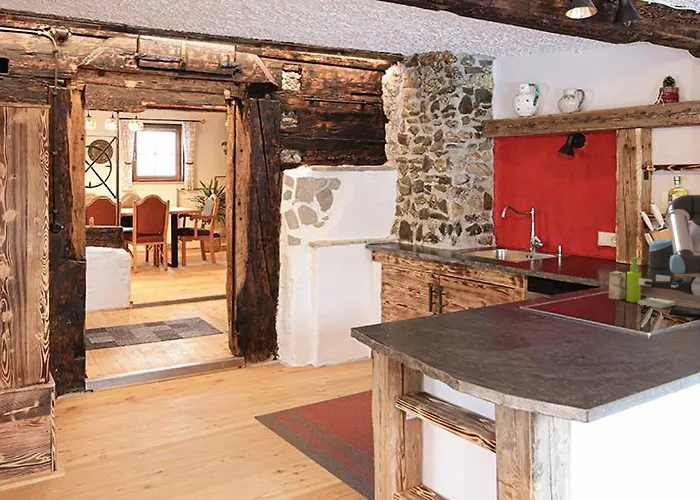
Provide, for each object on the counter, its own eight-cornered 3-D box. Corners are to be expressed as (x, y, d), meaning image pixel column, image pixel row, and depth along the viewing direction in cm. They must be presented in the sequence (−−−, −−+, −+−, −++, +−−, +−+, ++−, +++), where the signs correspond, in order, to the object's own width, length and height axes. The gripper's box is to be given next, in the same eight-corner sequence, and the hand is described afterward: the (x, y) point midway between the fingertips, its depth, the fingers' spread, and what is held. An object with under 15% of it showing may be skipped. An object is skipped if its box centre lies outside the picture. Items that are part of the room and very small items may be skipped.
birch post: (615, 296, 313) (615, 270, 311) (625, 298, 308) (626, 272, 307) (608, 297, 310) (609, 271, 308) (618, 299, 305) (619, 273, 304)
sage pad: (651, 301, 301) (651, 297, 301) (675, 305, 292) (675, 301, 292) (637, 304, 295) (637, 300, 294) (661, 308, 286) (661, 304, 285)
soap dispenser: (644, 302, 298) (645, 258, 296) (627, 302, 300) (629, 258, 297) (641, 299, 304) (642, 256, 301) (625, 299, 305) (626, 256, 303)
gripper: (679, 298, 271) (631, 291, 288) (710, 291, 285) (662, 284, 302) (679, 280, 270) (631, 274, 287) (711, 274, 284) (663, 268, 301)
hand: (647, 279), depth 295 cm, fingers open, 13 cm apart
